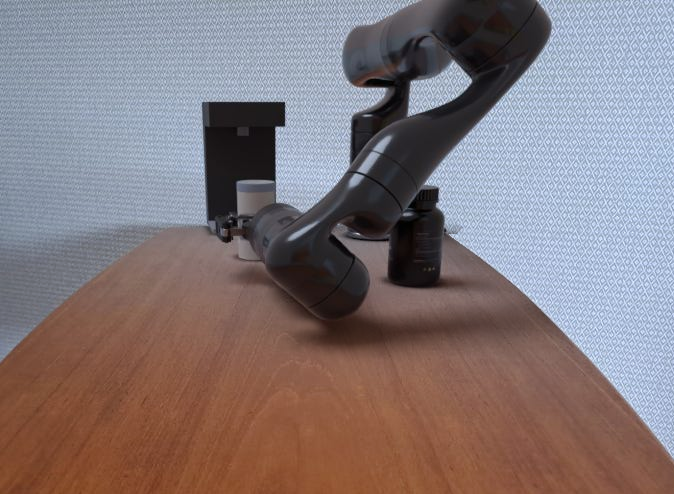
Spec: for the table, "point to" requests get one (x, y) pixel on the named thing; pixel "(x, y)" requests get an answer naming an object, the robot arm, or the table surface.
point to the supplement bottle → (417, 242)
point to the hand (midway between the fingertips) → (262, 218)
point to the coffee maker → (237, 150)
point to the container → (253, 207)
